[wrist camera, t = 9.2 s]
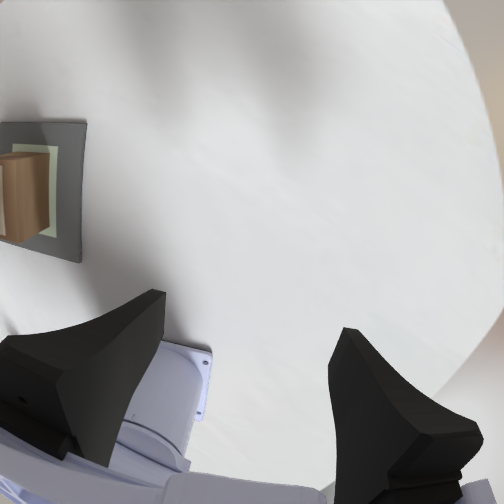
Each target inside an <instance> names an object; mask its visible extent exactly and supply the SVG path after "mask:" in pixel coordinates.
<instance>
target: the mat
mask: <svg viewBox="0 0 504 504" xmlns="http://www.w3.org/2000/svg"><path fill="white" fill-rule="evenodd" d="M86 129H87V124H82V123H55V122H6V123H0V155H3V154H7V153H12V152H17V151H18V152H39V153H50V163H49V220H50V227H48V228H47V229H45V230H43V231H41V232H39V233H38V234H36V235H34V236H32V237H31V238H29V239H27V240H25V241H24V242H22V243H20V244H18V243H15V242H11V241H7V240H4V239H0V241H3V242H6V243H9V244H12V245H16V246H19V247H22V248H26V249H29V250H33V251H36V252H40V253H43V254H47V255H50V256H54V257H57V258H61V259H65V260H68V261H72V262H76V263H80V262H82V259H81V194H82V174H83V159H84V148H85V138H86Z"/></svg>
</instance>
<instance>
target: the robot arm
mask: <svg viewBox="0 0 504 504" xmlns="http://www.w3.org/2000/svg"><path fill="white" fill-rule="evenodd" d="M165 300H166V292H163V291H159V290H154V289H151V290H149V291H147V292H145V293H143V294H141V295H140V296H138V297H136V298H135V299H133V300H131V301H129V302H127V303H126V304H124V305H122V306H120V307H118V308H116V309H114V310H112V311H110V312H108V313H106V314H104V315H102V316H100V317H97V318H95V319H93V320H90V321H87V322H84V323H82V324H79V325H75V326H72V327H68V328H64V329H60V330H56V331H51V332H46V333H39V334H30V335H8V336H7V337H6V338H5V339H4V340H3V341H2V342H1V343H0V493H1V494H2V495H3V496H5V497H6V498H8V499H9V500H11V501H12V502H14V503H15V504H327V501H326V496H325V495H324V494H322V493H321V492H319V491H318V490H316V489H315V488H309V487H304V486H298V485H285V484H274V483H265V482H257V481H250V480H243V479H236V478H230V477H224V476H219V475H214V474H209V473H199V472H190V471H189V469H190V465H191V461H189V460H187V459H186V458H184V456H185V452H186V449H187V445H188V441H189V437H190V434H191V430H192V426H193V423H194V421H198V422H200V421H203V418H204V411H205V404H206V398H207V391H208V384H209V378H210V371H211V365H212V358H213V355H212V354H211V353H210V352H208V351H203V350H199V349H194V348H190V347H186V346H182V345H178V344H173V343H169V342H165V341H162V340H161V339H162V336H163V334H164V317H165ZM204 360H205V361H208V362H205V361H204ZM328 385H329V392H330V398H331V404H332V410H333V417H334V423H335V430H336V448H337V462H336V485H335V497H334V504H497V503H496V500H495V497H494V495H493V492H492V489H491V486H490V484H489V481H488V479H482V480H478V481H475V482H471V483H467V484H465V485H463V486H461V487H460V485H459V482H458V480H460V479H462V473H461V471H460V470H461V469H462V468H463V467H464V466H465V465H466V464H467V463H468V462H469V461H470V460H471V459H472V458H473V457H474V456H475V455H476V453H478V451H479V450H480V448H481V446H482V444H483V440H484V438H483V436H482V434H481V432H480V429H479V427H478V425H477V423H476V422H475V421H473V420H470V419H468V418H465V417H463V416H461V415H458V414H456V413H454V412H452V411H450V410H449V409H447V408H445V407H443V406H441V405H440V404H438V403H436V402H435V401H433V400H432V399H430V398H429V397H427V396H426V395H424V394H423V393H421V392H420V391H419V390H417V389H416V388H415V387H414V386H412V385H411V384H410V383H409V382H408V381H406V380H405V379H404V378H403V377H402V376H401V375H400V374H399V373H398V372H397V371H396V370H395V369H394V368H393V367H392V366H391V365H390V364H389V363H388V362H387V361H386V360H385V359H384V358H383V357H382V356H381V355H380V354H379V352H378V351H377V350H376V349H375V348H374V347H373V346H372V345H371V343H370V342H369V341H368V340H367V339H366V338H365V337H364V336H363V334H362V333H361V332H360V331H359V330H357V329H351V328H345V327H344V328H343V330H342V333H341V335H340V338H339V340H338V343H337V345H336V347H335V350H334V352H333V355H332V357H331V359H330V362H329V364H328Z"/></svg>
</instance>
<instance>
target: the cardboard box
mask: <svg viewBox="0 0 504 504" xmlns="http://www.w3.org/2000/svg"><path fill="white" fill-rule="evenodd" d="M49 163H50V153H39V152H18V151H17V152H12V153H7V154H3V155H0V239H4V240H7V241H11V242H15V243H18V244H20V243H22V242H24V241H25V240H27V239H29V238H31V237H32V236H34V235H36V234H38V233H39V232H41V231H43V230H45V229H47V228H48V227H50V220H49Z"/></svg>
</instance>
